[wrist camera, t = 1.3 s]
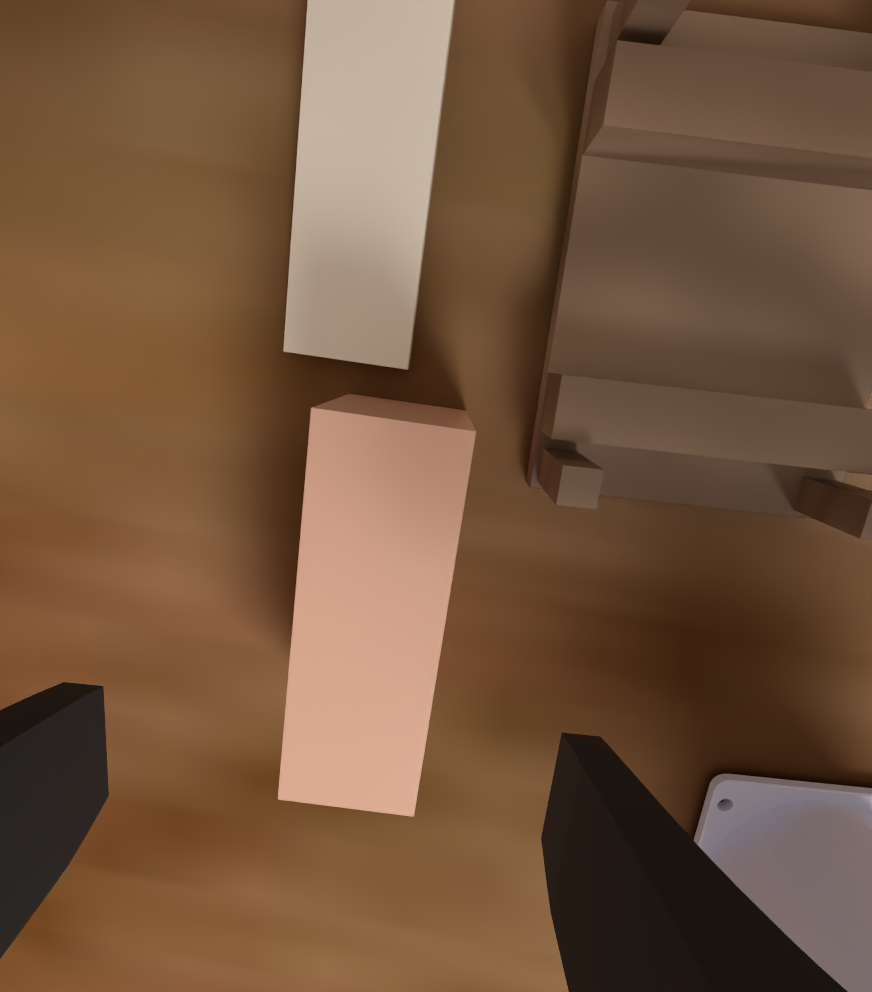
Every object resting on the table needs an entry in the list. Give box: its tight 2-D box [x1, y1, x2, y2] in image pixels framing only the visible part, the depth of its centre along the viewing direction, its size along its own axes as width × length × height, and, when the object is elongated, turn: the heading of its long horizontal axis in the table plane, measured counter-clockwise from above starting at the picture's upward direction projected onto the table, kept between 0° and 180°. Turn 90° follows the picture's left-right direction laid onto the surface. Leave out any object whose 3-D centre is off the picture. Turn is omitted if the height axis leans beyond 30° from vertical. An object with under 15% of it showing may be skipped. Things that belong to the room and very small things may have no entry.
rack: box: [526, 0, 872, 540], centre depth 13 cm, size 12×9×3 cm
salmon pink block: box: [278, 394, 476, 816], centre depth 15 cm, size 10×4×5 cm, turn 172°
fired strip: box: [283, 0, 456, 370], centre depth 14 cm, size 10×4×1 cm, turn 172°
